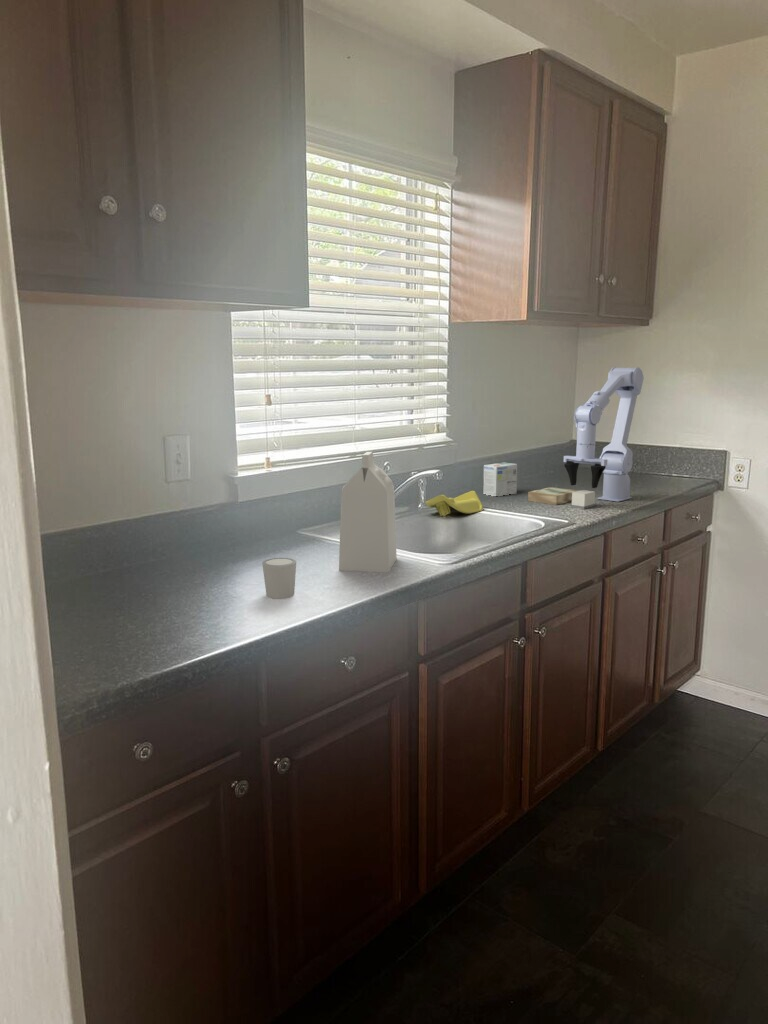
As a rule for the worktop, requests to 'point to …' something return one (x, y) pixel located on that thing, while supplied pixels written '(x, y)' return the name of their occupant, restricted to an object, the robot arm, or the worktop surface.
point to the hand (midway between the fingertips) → (583, 486)
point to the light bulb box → (500, 479)
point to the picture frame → (551, 495)
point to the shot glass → (279, 577)
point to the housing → (583, 499)
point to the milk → (368, 520)
